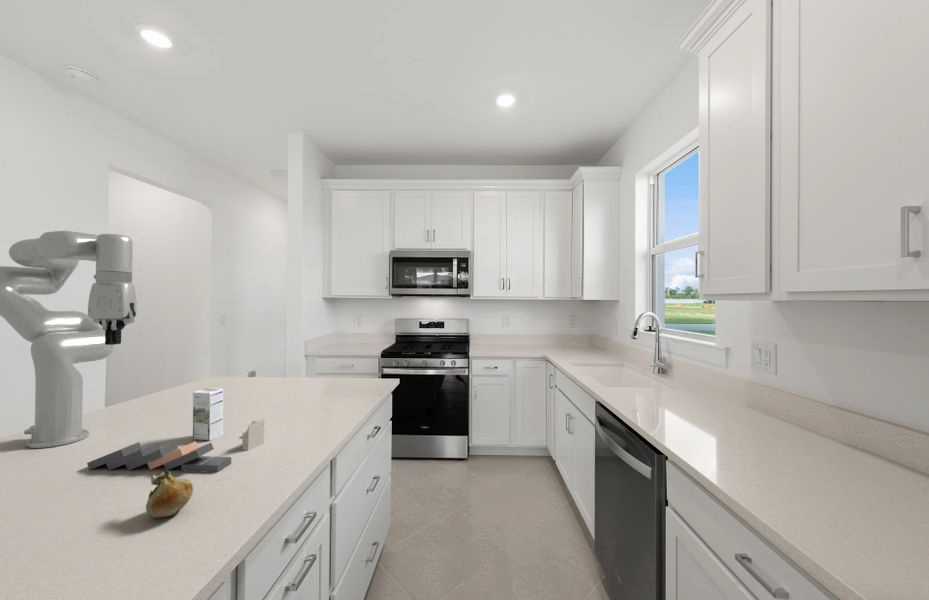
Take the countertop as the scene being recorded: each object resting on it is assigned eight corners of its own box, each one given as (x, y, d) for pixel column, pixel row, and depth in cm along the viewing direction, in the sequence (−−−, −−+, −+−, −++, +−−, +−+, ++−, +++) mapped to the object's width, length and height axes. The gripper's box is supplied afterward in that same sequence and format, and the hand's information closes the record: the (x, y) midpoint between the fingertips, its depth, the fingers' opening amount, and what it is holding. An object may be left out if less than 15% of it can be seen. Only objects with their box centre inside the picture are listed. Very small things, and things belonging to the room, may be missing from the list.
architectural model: (237, 450, 107) (238, 424, 107) (257, 442, 113) (258, 417, 113) (247, 452, 106) (248, 425, 106) (266, 443, 112) (267, 418, 112)
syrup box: (223, 434, 118) (224, 387, 118) (209, 441, 112) (210, 392, 112) (206, 433, 118) (207, 387, 119) (191, 440, 113) (192, 391, 113)
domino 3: (125, 463, 93) (159, 449, 92) (143, 455, 98) (175, 442, 97) (128, 470, 93) (162, 456, 92) (145, 462, 98) (178, 448, 97)
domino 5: (163, 464, 93) (196, 450, 92) (179, 455, 98) (211, 442, 97) (166, 471, 93) (198, 457, 92) (182, 462, 98) (213, 448, 97)
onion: (136, 529, 69) (137, 485, 69) (152, 507, 76) (152, 468, 76) (186, 520, 72) (187, 478, 72) (197, 500, 79) (197, 462, 79)
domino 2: (106, 463, 93) (140, 449, 92) (125, 455, 98) (157, 442, 97) (109, 470, 93) (143, 456, 92) (127, 461, 98) (160, 448, 97)
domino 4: (147, 463, 93) (180, 448, 92) (164, 454, 98) (195, 441, 97) (150, 469, 93) (182, 455, 92) (167, 461, 98) (198, 447, 97)
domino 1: (86, 463, 93) (121, 449, 93) (106, 454, 98) (139, 441, 98) (89, 470, 93) (123, 456, 92) (109, 461, 98) (141, 448, 97)
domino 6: (181, 464, 93) (217, 465, 92) (196, 456, 98) (231, 457, 97) (181, 471, 93) (217, 472, 92) (196, 463, 98) (231, 464, 97)
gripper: (73, 277, 103) (72, 345, 103) (129, 278, 103) (127, 346, 103) (100, 279, 110) (99, 342, 110) (151, 280, 110) (150, 343, 110)
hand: (113, 344), depth 106 cm, fingers closed
